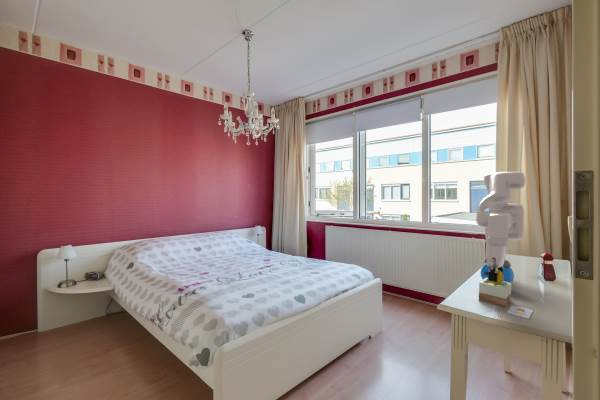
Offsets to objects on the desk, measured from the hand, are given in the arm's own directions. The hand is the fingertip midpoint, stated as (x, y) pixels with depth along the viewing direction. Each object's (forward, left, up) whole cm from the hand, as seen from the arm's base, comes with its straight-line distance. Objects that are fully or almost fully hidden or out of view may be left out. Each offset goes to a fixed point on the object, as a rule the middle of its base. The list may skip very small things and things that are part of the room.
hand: (495, 278), depth 126 cm
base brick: (0, 0, -10) cm, 10 cm away
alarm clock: (-21, -4, -11) cm, 24 cm away
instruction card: (+5, +10, -10) cm, 15 cm away
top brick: (0, 0, -6) cm, 6 cm away
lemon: (0, 0, -4) cm, 4 cm away
